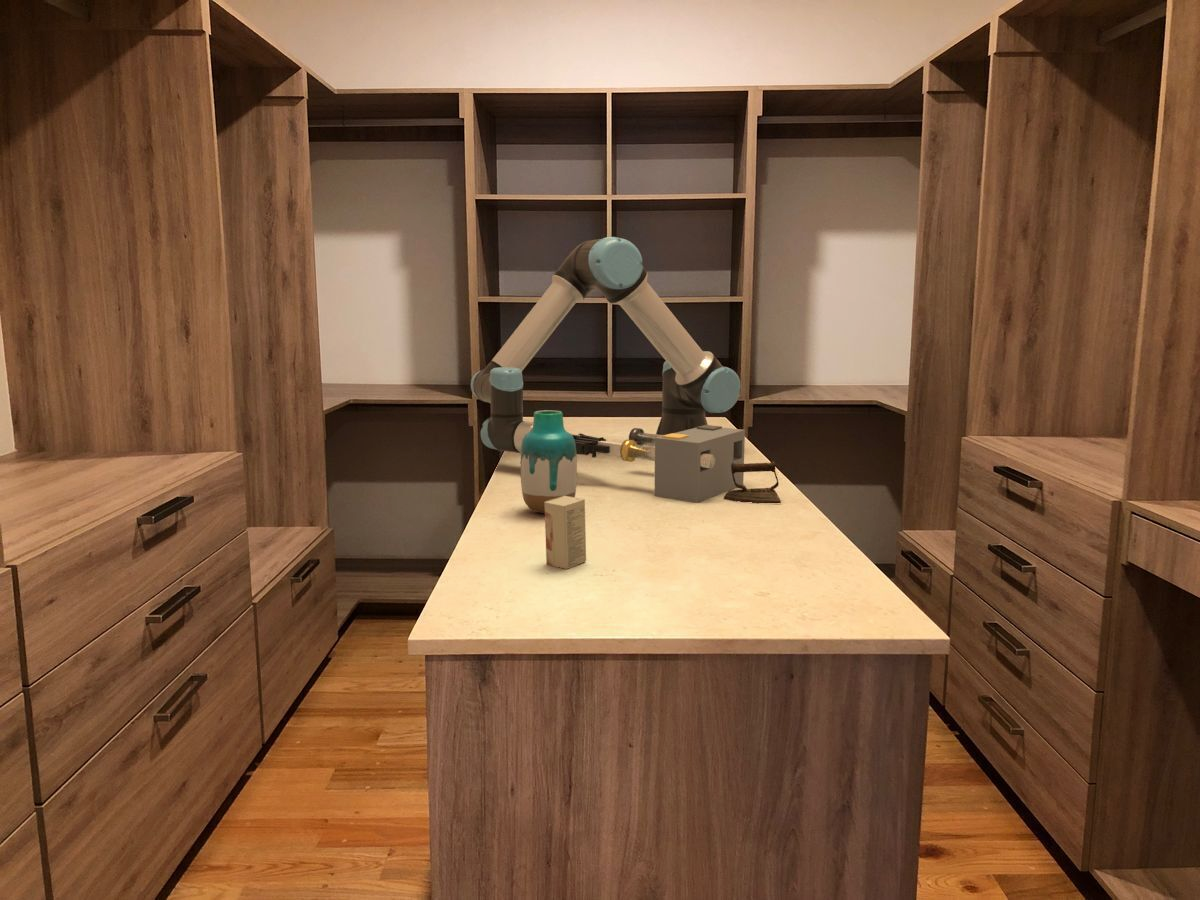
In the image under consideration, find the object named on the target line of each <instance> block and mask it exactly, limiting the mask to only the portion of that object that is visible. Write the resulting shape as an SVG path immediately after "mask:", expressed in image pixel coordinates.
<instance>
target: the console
mask: <svg viewBox="0 0 1200 900" xmlns="http://www.w3.org/2000/svg"><path fill="white" fill-rule="evenodd" d="M745 438H746V430H745V429H740V428H739V429H738V428H730V427H723V426H720V425H710V424H708V425H703V426H699V427H697V428H693V429H689V430H685V431H681V432H677V433H671V434H667V435H663V436H661V437H657V438H655V461H654V487H653V488H654V497H659V498H667V499H670V500H671V499H673V500H679V501H684V502H691V503H696V504H697V503H701V502H703V501H705V500H708V499H710V498H712V497H715V496H717V495H720V494H723V493H727V492H728V491H731V490H735V489H736V488H737V487H736V485H735V483H734V481H733V476H732V472H731V464H732V463H734V464H745V441H746V440H745ZM701 453H704V454H712V455H714V457H715V463H714V466H713V468H703V467H700V459H701ZM744 473H745V472H736V473H734V478H735V482H736V483H737V484H739V485H743V486H744V476H745V475H744Z"/></svg>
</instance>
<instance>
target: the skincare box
mask: <svg viewBox="0 0 1200 900" xmlns="http://www.w3.org/2000/svg"><path fill="white" fill-rule="evenodd" d="M585 500H586V499H585V498H580V497H576V496H575V497H570V496H562V497H559V498H555V499H552V500H549V501H546V502H544V504H545V513H544V529H545V533H544V534H545V561H546V565H548V564H549V566H552V565H553V566H552V567H555V568H559V567H560V569H563V568H564V570H568V569H569V568H573V567H575V566H579V565H580V564H583V563H584V562H587V542H586V541H587V539H586V538H587V537H586V535H587V533H586V501H585Z"/></svg>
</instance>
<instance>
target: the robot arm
mask: <svg viewBox="0 0 1200 900" xmlns="http://www.w3.org/2000/svg"><path fill="white" fill-rule="evenodd" d="M596 289H597V290H599V292H600V293H601V294H602V295H603V297H604V298H605V300H606V301H608V303H609V304H610V305H619V306H620V308H622V310H623V311H624V312H625V313H626V314H627V315H628V317H629V318H630V319H631V321H633V323H634V324H635V325H636V327H638V329H639V330H640V331H641V332H642V334H643V335H644V337H645V338H646V339H647V340H648V341H649V342H650V344H652V346H653V347H654V348H655V349H656V351H657V352H658V354H660V356H662V358H663V359H664V360H665V361H664V362H663V365H662V373H661V376H662V389H661V390H662V393H661V394H662V398H661V399H662V404H661V406H662V407H661V408H662V409H661V410H662V412H661V418H660V420H659V424H658V426H657V429H656V433H655V434H657V435H667V434H671V433H677V432H681V431H685V430H689V429H693V428H697V427H699V426H703V425H709V424H708V421H707V417H706V412H708V413H711V414H715V413H716V414H717V413H719V414H721V413H725V412H728V411H729V410H730V409H731V408H733V407H734V406H735V404H736V403H737V401H738V400H739V398H740V391H741V387H742V384H741V380H740V377H739V375H738V374H737V373H736V371H734V369H732V368H729V367H727V366H723V365H722V364H721V362H720V361H719V360H718V359H717V357H716V356H715V355H714V353H712V352H711V351H709V350H708V351H707V350H706V351H705V350H702V349H701V347H700V346H699V345H698V344H697V342H696V341H695V340H694V339H693V337H692V336H691V335H690V333H688V331H687V329H685V327H684V326H683V325H682V324H681V322H680V321H679V320H678V319H677V318H676V316H675V315H674V313H673V312H672V311H671V310H670V308H668V306H667V305H666V303H665V302H664V301H663V300H662V299H661V298H660V296H659V295H658V293H657V292H656V291H655V290H654V289H653V287H652V286H651V285H650V284H649V282H648V271H647V270H646V269H645V268H644V266H643V256H642V254H641V252H640V250H639V249H638V248H637V246H636V245H635V244H634V243H632V242H631V241H629V240H628V239H625V238H622V237H616V236H608V237H603V238H598V239H589V240H586V241H583V242H582V243H580V244H578V245H577V246H576V247H575V248H573V250H572V251H571V252H570V253H569V255H568V256H567V257H566V258H565V259H564V261H562V263H561V265H560V266H559V267H558V269H557V270H556V271H555V273H554V274H553V275H552V276H551V284H550V285H549V287H548V288H547V289H546V290H545V292H544V293H543V295H542V296H541V297H540V298H539V299H538V301H537V302H536V304H535V305H533V307H532V308H531V310H530V311H529V312H528V313H527V314H526V316H525V317H524V319H522V321H521V322H520V324H519V325H518V327H516V329H515V330H514V332H512V334H511V335H510V337H509V338H508V339H507V340H506V341H505V343H504V344H503V345H502V346H501V348H500V349H499V351H498V352H497V353H496V354H495V355H494V357H493V358H492V359H491V361H490V362H489V363H488V364H487V365H486V367H485V368H484V369H482V370H479V371H478V372H475V374H473V376H472V378H471V380H470V391H471V392H472V394H473V395H474V396H475V397H476V398H477V399H479V401H482V402H484V403H489V404H490V417H488V418H487V419H485V420H484V422H483V423H482V424H481V425H482V427H481V429H480V439H481V441H482V444H484V446H485V447H487V448H489V449H493V450H497V451H499V452H508V453H509V452H510V453H517V454H521V445H522V440H523V438H524V436H525V435H526V434H527V433H529V432H531V431H532V428H533V421H528V420H527V421H526V420H524V392H523V391H524V381H523V373H522V372H523V371H524V369H525V368H526V367H527V365H528V364H529V363H530V362H531V360H532V359H533V358H534V357H535V356H536V354H537V352H539V351H540V349H541V348H542V346H543V345H544V344H545V343H546V342H547V340H548V339H549V338H550V336H552V335H553V332H554V331H556V328H557V327H558V326H559V324H561V323H562V321H563V320H564V319H565V317H566V316H567V315H568V313H569V312H570V311H571V310H572V308H573V307H574V306H575V304H577V303H579V302H583V301H584V299H586V297H587V296H588V295H589V294H590V293H591V292H593V291H594V290H596ZM570 434H571V435H572V436H573V438H574V440H575V444H576V453H577V455H582V456H583V455H584V456H588V455H590V454H591V457H592V458H597V455H601V456H610V457H616V458H621V455H620V449H621V445H622V443H623V442H622V443H621V442H614V441H607V439H606V438H604V437H597V436H596V437H595V436H592V435H586V434H584V433H581V432H580V433H577V434H572V433H570Z"/></svg>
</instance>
